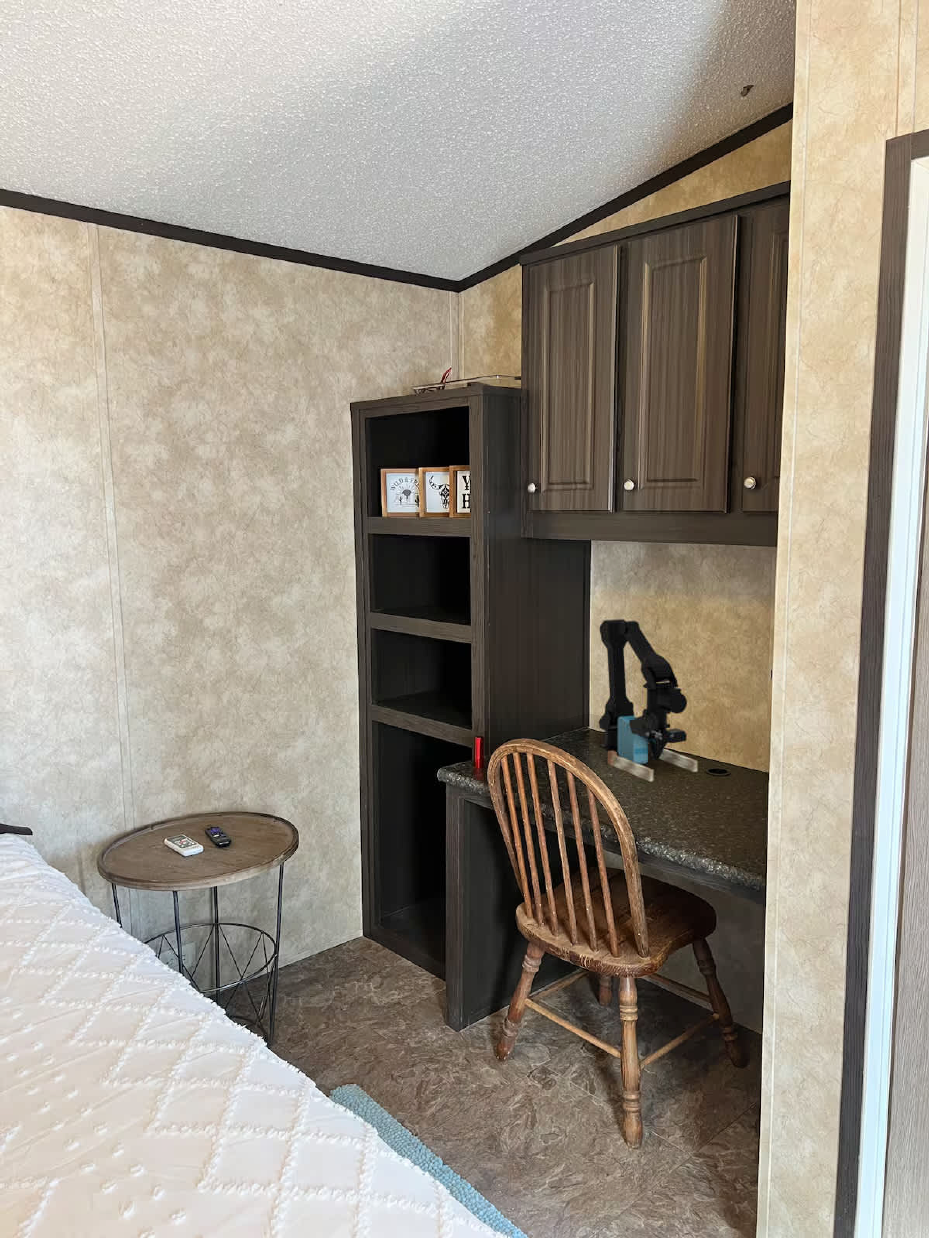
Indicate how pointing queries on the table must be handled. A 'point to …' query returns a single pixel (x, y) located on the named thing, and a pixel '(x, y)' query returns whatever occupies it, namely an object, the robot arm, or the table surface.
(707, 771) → the table surface
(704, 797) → the table surface
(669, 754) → the bay
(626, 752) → the data package
